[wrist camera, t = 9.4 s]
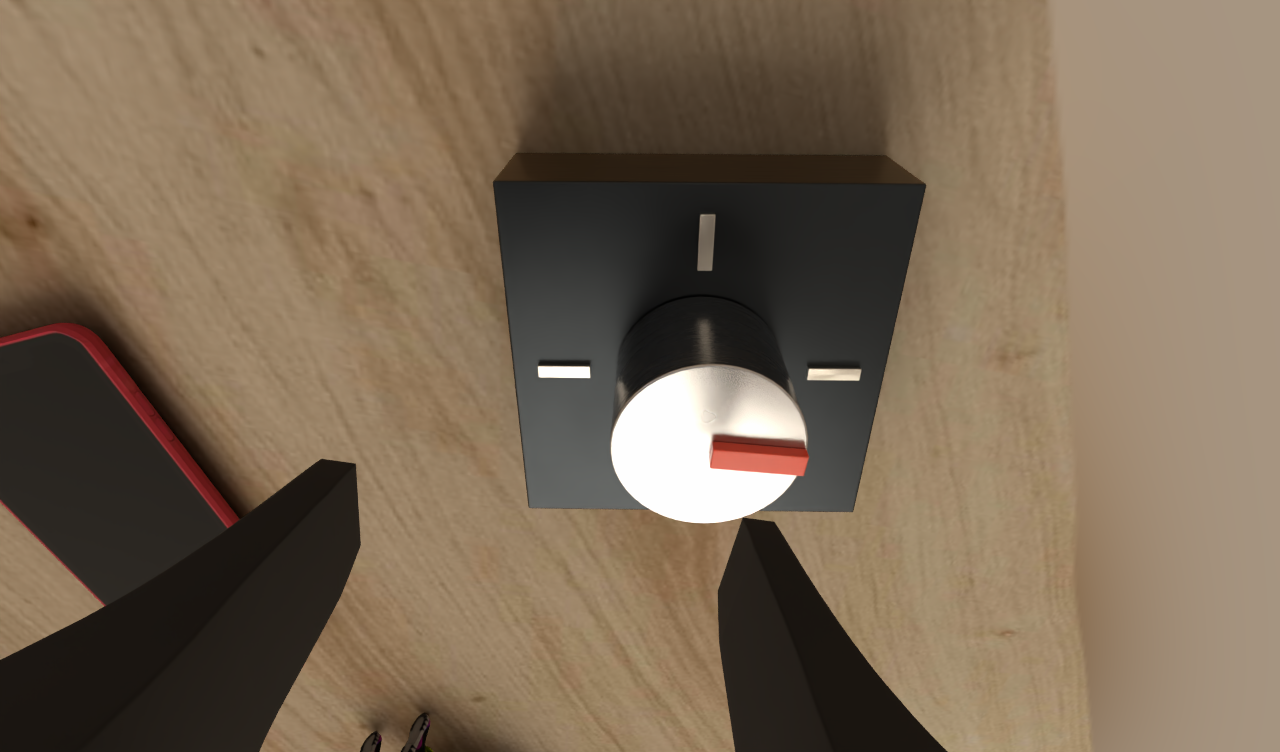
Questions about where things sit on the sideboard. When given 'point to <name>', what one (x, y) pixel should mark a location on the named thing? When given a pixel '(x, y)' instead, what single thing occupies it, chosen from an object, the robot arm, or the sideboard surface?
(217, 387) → the sideboard surface
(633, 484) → the dimmer knob
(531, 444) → the dimmer panel
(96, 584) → the smartphone
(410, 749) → the character figure
